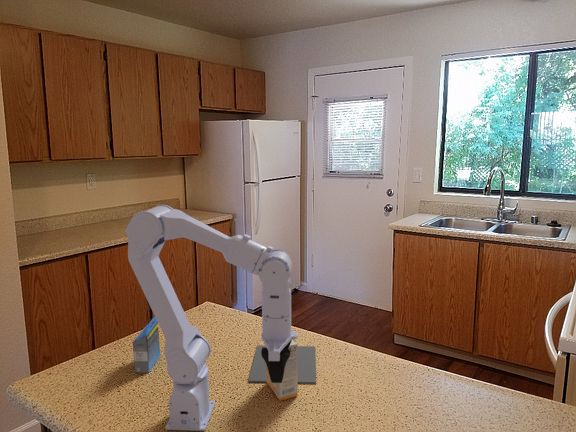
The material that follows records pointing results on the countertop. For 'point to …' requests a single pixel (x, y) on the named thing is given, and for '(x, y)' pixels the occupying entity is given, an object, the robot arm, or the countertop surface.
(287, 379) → the supplement box
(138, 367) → the label tape cartridge
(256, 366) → the mat
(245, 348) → the countertop surface
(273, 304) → the robot arm
